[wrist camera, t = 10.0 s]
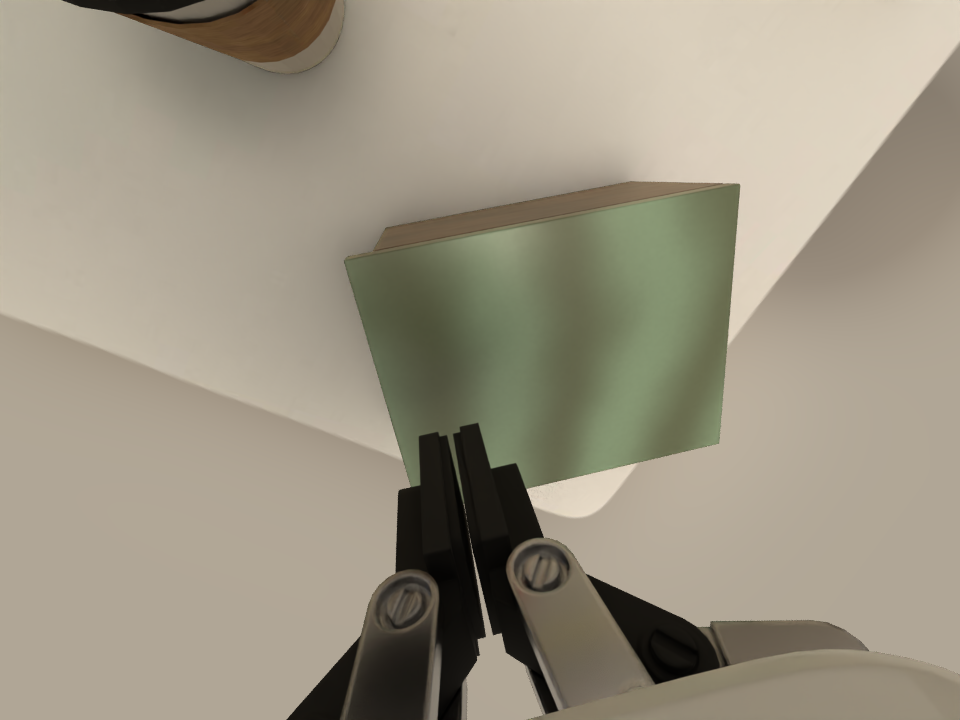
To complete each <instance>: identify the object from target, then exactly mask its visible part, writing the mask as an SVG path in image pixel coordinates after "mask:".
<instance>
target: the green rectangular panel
mask: <svg viewBox="0 0 960 720" xmlns="http://www.w3.org/2000/svg"><path fill="white" fill-rule="evenodd" d="M739 194H740V184H730V183H726V184H720V185H715V186H710V187H705V188H700V189H695V190H689V191H684V192H679V193H674V194H669V195H663V196H658V197H653V198H648V199H643V200H637V201H632V202H627V203H622V204H617V205H612V206H606V207H601V208H596V209H591V210H586V211H580V212H575V213H570V214H565V215H560V216H554V217H549V218H544V219H539V220H534V221H529V222H523V223H518V224H513V225H508V226H503V227H497V228H492V229H487V230H482V231H477V232H471V233H466V234H461V235H456V236H451V237H446V238H440V239H435V240H430V241H425V242H420V243H414V244H409V245H404V246H399V247H394V248H388V249H383V250H378V251H373V252H368V253H362V254H357V255H352V256H348V257H347V258H346V259H345V260H344V263H345V267H346V270H347V273H348V277H349V280H350V283H351V287H352V290H353V293H354V297H355V300H356V304H357V307H358V310H359V314H360V317H361V320H362V324H363V327H364V330H365V334H366V337H367V341H368V344H369V347H370V351H371V354H372V357H373V361H374V364H375V367H376V371H377V374H378V378H379V381H380V384H381V388H382V391H383V394H384V398H385V401H386V404H387V408H388V411H389V415H390V418H391V421H392V425H393V428H394V431H395V435H396V438H397V441H398V445H399V448H400V452H401V455H402V458H403V462H404V465H405V468H406V472H407V475H408V478H409V482H410V485H411V487H414V486H418V485H420V463H419V436H421V435H425V434H429V433H434V432H439V435H440V436H444V435H447V437H448V441H449V446H450V450H451V454H452V458H453V462H454V467H455V471H456V475H457V479H458V483H459V488H460V492H461V496H462V500H463V503H464V498H463V492H462V486H461V480H460V474H459V468H458V462H457V456H456V450H455V444H454V438H453V433H458V432H460V428H459V427H461V426H465V425H469V424H474V423H479V427H480V431H481V434H482V438H483V442H484V445H485V449H486V453H487V456H488V460H489V464H490V467H491V468H496V467H500V466H504V465H508V464H513V463H516V464H517V466H518V468H519V471H520V474H521V476H522V479H523V482H524V485H525V487H526V489H527V488H532V487H536V486H540V485H544V484H549V483H553V482H557V481H561V480H566V479H570V478H574V477H579V476H583V475H587V474H591V473H596V472H600V471H604V470H608V469H613V468H617V467H621V466H625V465H630V464H634V463H638V462H643V461H647V460H651V459H655V458H660V457H663V456H668V455H672V454H677V453H680V452H685V451H689V450H694V449H698V448H702V447H707V446H710V445H715V444H719V439H720V427H721V414H722V401H723V389H724V378H725V365H726V353H727V341H728V329H729V316H730V304H731V292H732V280H733V267H734V255H735V243H736V231H737V218H738V206H739Z"/></svg>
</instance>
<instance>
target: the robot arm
mask: <svg viewBox="0 0 960 720" xmlns="http://www.w3.org/2000/svg"><path fill="white" fill-rule="evenodd" d="M459 428H460V432H458V433H453V438H454V444H455V450H456V456H457V462H458V468H459V474H460V480H461V486H462V492H463V498H464V504H465V509H464V505H463V500H462V496H461V492H460V488H459V483H458V479H457V475H456V471H455V467H454V462H453V458H452V454H451V450H450V446H449V441H448V437H447V435H444V436H440V435H439V432H434V433H429V434H425V435H421V436H419V463H420V485H418V486H414V487H410V488H406V489H402V490H399V493H398V513H397V543H396V573H395V574H394V575H392V576H390V577H388V578H387V579H386V580H385V581H384V582H382V583H381V584H380V585H379V586H378V588H377V589H376V590H375V592H374V593H373V594H372V597H371V600H370V602H369V604H368V608H367V612H366V617H365V620H364V624H363V629H362V633H361V636H360V637H359V638H358V639H357V641H356V642H355V643H354V644H353V645H352V646H351V647H350V648H349V650H348V651H347V652H346V653H345V654H344V655H343V656H342V658H341V659H340V660H339V661H338V662H337V663H336V664H335V665H334V666H333V668H332V669H331V670H330V671H329V672H328V673H327V675H326V676H325V677H324V678H323V679H322V680H321V681H320V682H319V683H318V685H317V686H316V687H315V688H314V689H313V691H311V693H310V694H309V695H308V696H307V697H306V698H305V699H304V700H303V702H302V703H301V704H300V705H299V706H298V707H297V708H296V709H295V711H294V712H293V713H292V714H291V715H290V716H289V718H288V719H287V720H467V682H466V677H467V675H468V674H469V672H470V670H471V669H472V668H473V666H474V664H475V663H476V661H477V656H479V655H480V654H479V648H478V640H477V639H480V638H484V637H486V634H485V628H484V622H483V616H482V609H481V603H480V597H479V591H478V585H477V579H476V573H475V567H474V561H473V555H472V549H473V554H474V557H475V562H476V566H477V570H478V574H479V579H480V583H481V587H482V591H483V595H484V599H485V603H486V608H487V612H488V616H489V620H490V624H491V628H492V632H493V635H496V634H500V633H502V637H503V641H504V645H505V650H506V653H507V654H509V655H511V656H512V657H514V658H515V659H517V660H518V661H520V662H521V663H523V664H524V665H525V667H526V672H527V675H528V677H529V680H530V683H531V685H532V688H533V690H534V693H535V696H536V698H537V701H538V703H539V706H540V709H541V711H542V714H543V715H542V716H539V717H535V718H531V719H528V720H960V675H959V674H957V673H955V672H952V671H950V670H947V669H945V668H942V667H939V666H936V665H932V664H929V663H926V662H922V661H918V660H914V659H910V658H906V657H901V656H895V655H890V654H885V653H879V652H871V651H869V650H868V649H867V648H866V647H865V646H864V644H863V643H862V642H861V641H860V640H858V639H857V638H856V637H854V636H853V635H851V634H850V633H848V632H847V631H846V630H844V629H842V628H839V627H837V626H835V625H832V624H830V623H827V622H821V621H814V620H794V621H793V620H791V621H790V620H786V621H712V622H711V624H710V627H696V626H694V625H693V624H691V623H690V622H688V621H686V620H685V619H683V618H681V617H679V616H676V615H674V614H672V613H670V612H668V611H666V610H663V609H661V608H659V607H657V606H655V605H653V604H650V603H648V602H646V601H644V600H642V599H640V598H637V597H635V596H633V595H631V594H629V593H626V592H624V591H622V590H620V589H618V588H616V587H613V586H611V585H609V584H607V583H605V582H602V581H600V580H598V579H596V578H594V577H592V576H590V575H587V574H585V572H584V571H583V569H582V567H581V566H580V564H579V563H578V561H577V559H576V558H575V556H574V555H573V553H572V552H571V551H570V550H569V549H568V548H567V546H565V545H564V544H562V543H560V542H559V541H557V540H553V539H550V538H544V537H543V534H542V531H541V529H540V526H539V523H538V520H537V517H536V515H535V512H534V509H533V506H532V504H531V501H530V498H529V496H528V493H527V490H526V487H525V485H524V482H523V479H522V476H521V474H520V471H519V468H518V466H517V464H516V463H513V464H508V465H504V466H500V467H496V468H491V467H490V464H489V460H488V456H487V453H486V449H485V445H484V442H483V438H482V434H481V431H480V427H479V423H474V424H469V425H465V426H461V427H459ZM465 510H466V513H465ZM466 516H467V519H466ZM467 522H468V524H467ZM468 529H469V530H468ZM469 534H470V537H469ZM470 539H471V543H470ZM471 545H472V549H471Z"/></svg>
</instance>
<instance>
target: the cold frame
mask: <svg viewBox="0 0 960 720" xmlns="http://www.w3.org/2000/svg"><path fill="white" fill-rule="evenodd" d="M720 184H723V183H679V182H635V181H630V182H625V183H620V184H614V185H609V186H604V187H599V188H593V189H588V190H583V191H577V192H572V193H567V194H562V195H556V196H551V197H546V198H540V199H535V200H530V201H525V202H519V203H514V204H509V205H503V206H498V207H493V208H488V209H482V210H477V211H472V212H466V213H461V214H456V215H451V216H445V217H440V218H435V219H429V220H424V221H419V222H413V223H408V224H403V225H398V226H392V227H387V228H386V229H385V231H384V233H383V234H382V236H381V238H380V240H379V241H378V243H377V245H376V246H375V248H374V250H373V251H378V250H383V249H388V248H394V247H399V246H404V245H409V244H414V243H420V242H425V241H430V240H435V239H440V238H446V237H451V236H456V235H461V234H466V233H471V232H477V231H482V230H487V229H492V228H497V227H503V226H508V225H513V224H518V223H523V222H529V221H534V220H539V219H544V218H549V217H554V216H560V215H565V214H570V213H575V212H580V211H586V210H591V209H596V208H601V207H606V206H612V205H617V204H622V203H627V202H632V201H637V200H643V199H648V198H653V197H658V196H663V195H669V194H674V193H679V192H684V191H689V190H695V189H700V188H705V187H710V186H715V185H720Z"/></svg>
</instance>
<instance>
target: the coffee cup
mask: <svg viewBox="0 0 960 720" xmlns="http://www.w3.org/2000/svg"><path fill="white" fill-rule="evenodd" d="M63 1H65V2H68V3H71V4H74V5H77V6H79V7H84V8H91V9H97V10H103V11H110V12H114V13H117V14H120V15H122V16H125V17H128V18H130V19H133V20H136V21H138V22H141V23H144V24H146V25H149V26H152V27H154V28H157V29H160V30H162V31H165V32H168V33H170V34H173V35H176V36H178V37H181V38H184V39H186V40H189V41H192V42H194V43H197V44H200V45H202V46H205V47H208V48H210V49H213V50H216V51H218V52H221V53H224V54H227V55H229V56H232V57H235V58H238V59H240V60H242V61H245V62H247V63H249V64H251V65H254V66H256V67H259V68H262V69H265V70H268V71H271V72H277V73H283V74H289V73H299V72H302V71H305V70H308V69H311V68H312V67H314V66H316V65H317V64H319V63H320V62H322V61H323V60H324V59H325V58H326V57H327V56H328V55H329V54H330V52H331V51H332V49H333V48H334V46H335V44H336V43H337V41H338V38H339V35H340V32H341V30H342V26H343V19H344V13H345V7H344V0H63Z"/></svg>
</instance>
